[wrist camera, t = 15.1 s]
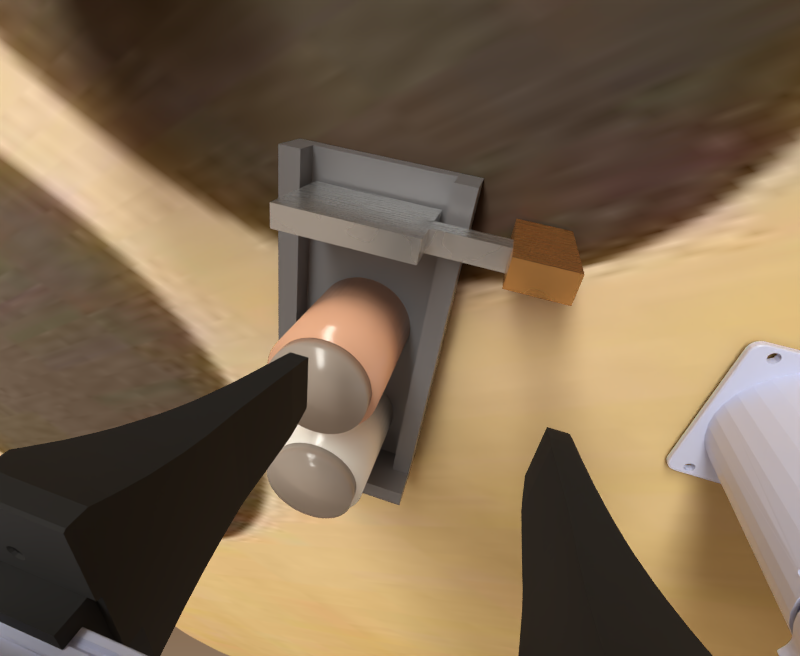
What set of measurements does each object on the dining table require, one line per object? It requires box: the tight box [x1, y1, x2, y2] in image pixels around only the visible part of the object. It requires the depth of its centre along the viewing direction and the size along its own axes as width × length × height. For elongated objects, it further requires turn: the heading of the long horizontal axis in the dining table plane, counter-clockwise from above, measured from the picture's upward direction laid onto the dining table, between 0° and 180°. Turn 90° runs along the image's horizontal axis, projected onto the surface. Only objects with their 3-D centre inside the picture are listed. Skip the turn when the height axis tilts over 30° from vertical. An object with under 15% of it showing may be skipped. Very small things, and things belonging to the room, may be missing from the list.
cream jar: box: [267, 392, 393, 518], centre depth 23 cm, size 5×5×6 cm
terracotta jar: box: [268, 277, 410, 434], centre depth 20 cm, size 5×5×6 cm
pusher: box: [270, 181, 584, 306], centre depth 17 cm, size 11×1×5 cm, turn 81°
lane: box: [278, 139, 484, 505], centre depth 22 cm, size 8×18×4 cm, turn 170°
